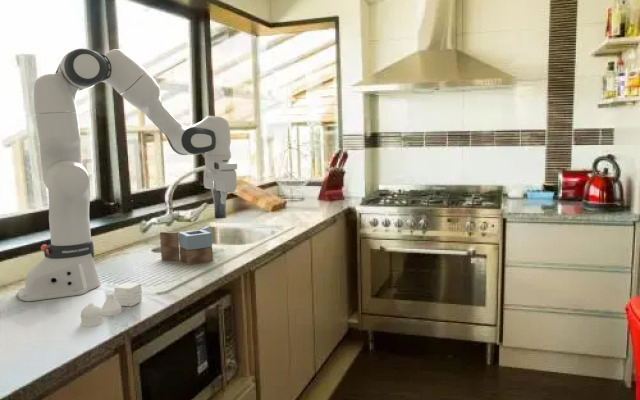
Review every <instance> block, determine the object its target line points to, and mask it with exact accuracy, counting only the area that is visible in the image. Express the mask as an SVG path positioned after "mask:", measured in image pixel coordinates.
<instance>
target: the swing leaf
mask: <svg viewBox="0 0 640 400" xmlns="http://www.w3.org/2000/svg"><path fill="white" fill-rule="evenodd" d="M212 236H213V235H212V227H211V225H207V226H205V227H203V228H200V229H195V230H186V231H178V238H179V247H180V246H181V247H183V248H185V249H187V250H193V249H200V248H206V247H212V248H213V239H212Z"/></svg>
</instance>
